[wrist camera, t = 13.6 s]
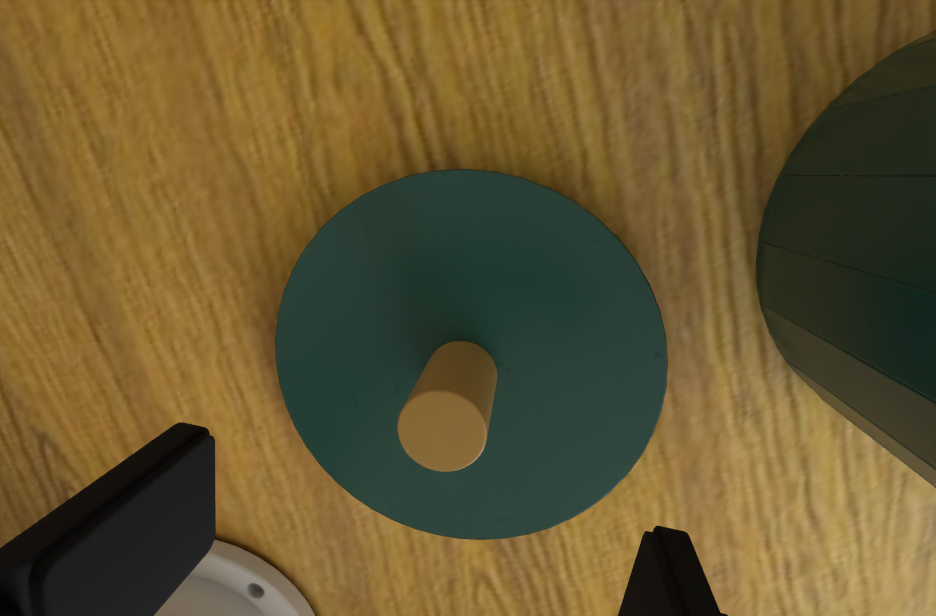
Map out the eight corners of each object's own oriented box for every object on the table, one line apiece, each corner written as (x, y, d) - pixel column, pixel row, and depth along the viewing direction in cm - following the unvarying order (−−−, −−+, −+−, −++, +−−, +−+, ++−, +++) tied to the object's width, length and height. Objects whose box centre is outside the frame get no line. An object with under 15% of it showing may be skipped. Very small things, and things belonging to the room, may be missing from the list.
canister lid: (281, 482, 23) (202, 578, 18) (298, 140, 19) (201, 126, 13) (610, 553, 22) (635, 681, 17) (709, 205, 18) (790, 219, 12)
